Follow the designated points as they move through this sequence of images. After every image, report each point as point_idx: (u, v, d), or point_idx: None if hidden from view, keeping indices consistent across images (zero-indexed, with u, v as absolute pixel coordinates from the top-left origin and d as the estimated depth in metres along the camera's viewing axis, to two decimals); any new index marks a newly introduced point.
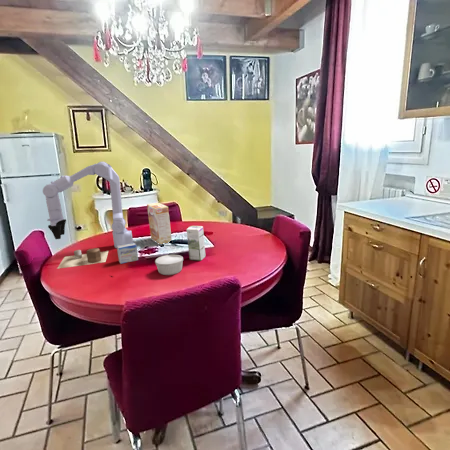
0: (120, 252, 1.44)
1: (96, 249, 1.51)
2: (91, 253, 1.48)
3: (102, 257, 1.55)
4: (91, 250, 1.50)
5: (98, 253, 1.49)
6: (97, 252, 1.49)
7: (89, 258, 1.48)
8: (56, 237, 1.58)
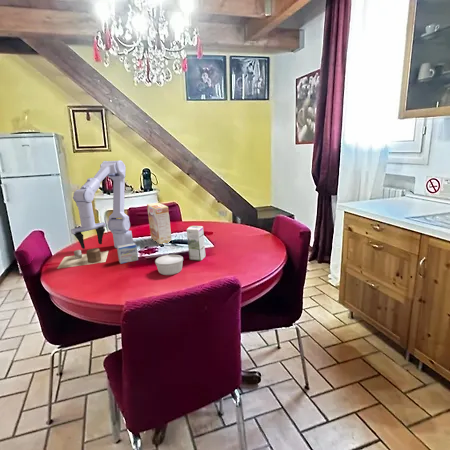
0: (120, 252, 1.44)
1: (96, 249, 1.51)
2: (91, 253, 1.48)
3: (102, 257, 1.55)
4: (91, 250, 1.50)
5: (98, 253, 1.49)
6: (97, 252, 1.49)
7: (89, 258, 1.48)
8: (81, 246, 1.47)
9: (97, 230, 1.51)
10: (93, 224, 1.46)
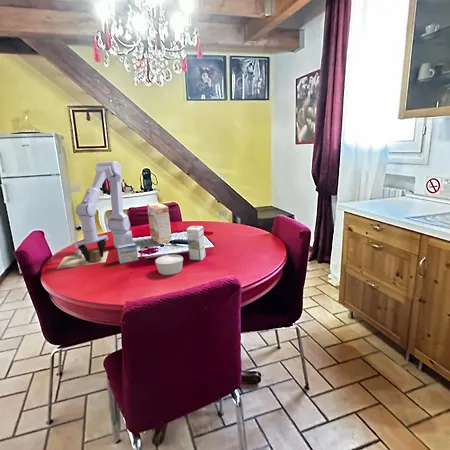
0: (120, 252, 1.44)
1: (96, 249, 1.51)
2: (91, 253, 1.48)
3: (102, 257, 1.55)
4: (91, 250, 1.50)
5: (98, 253, 1.49)
6: (97, 252, 1.49)
7: (89, 258, 1.48)
8: (85, 258, 1.49)
9: (98, 243, 1.52)
10: (96, 237, 1.48)
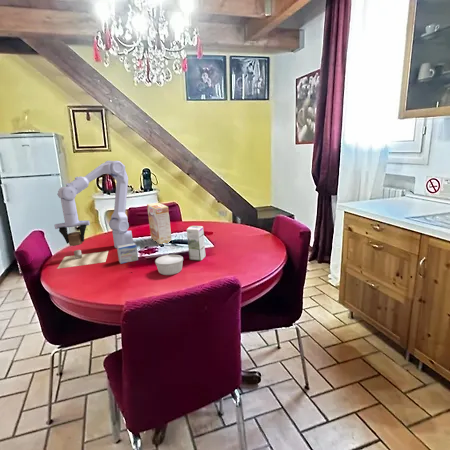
0: (120, 252, 1.44)
1: (77, 233, 1.53)
2: (69, 236, 1.51)
3: (102, 257, 1.55)
4: (72, 233, 1.53)
5: (76, 237, 1.51)
6: (75, 236, 1.51)
7: None
8: None
9: None
10: (74, 221, 1.50)
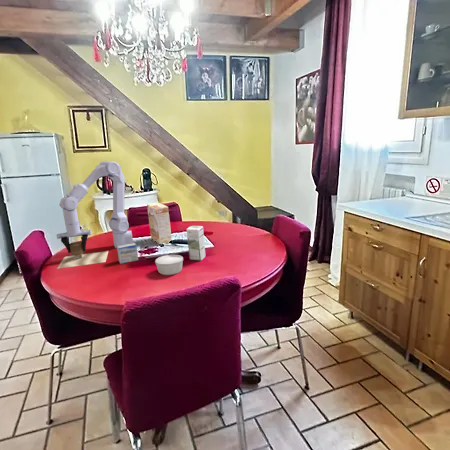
0: (120, 252, 1.44)
1: (78, 243, 1.54)
2: (71, 246, 1.52)
3: (102, 257, 1.55)
4: (74, 243, 1.54)
5: (78, 247, 1.53)
6: (77, 246, 1.52)
7: (70, 250, 1.53)
8: None
9: None
10: (75, 231, 1.51)
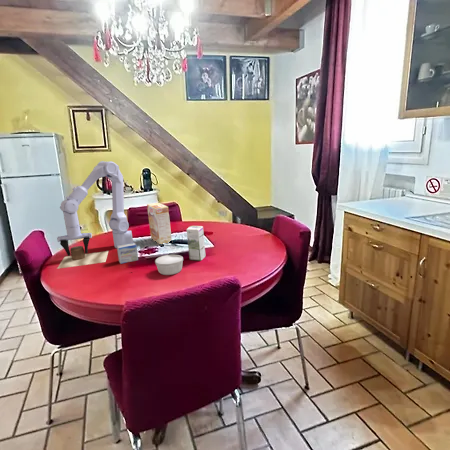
0: (120, 252, 1.44)
1: (79, 247, 1.55)
2: (72, 251, 1.53)
3: (102, 257, 1.55)
4: (75, 248, 1.55)
5: (79, 252, 1.53)
6: (78, 251, 1.53)
7: (71, 255, 1.54)
8: None
9: None
10: (76, 234, 1.51)
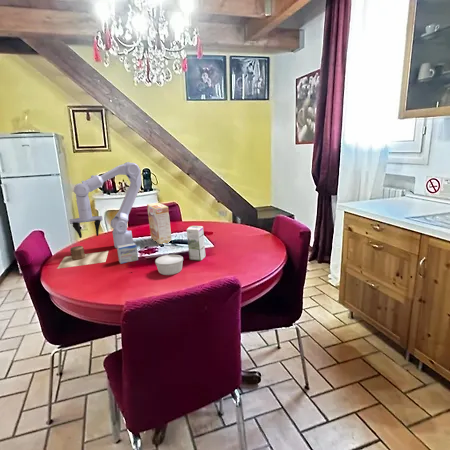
0: (120, 252, 1.44)
1: (79, 247, 1.55)
2: (72, 251, 1.53)
3: (102, 257, 1.55)
4: (75, 248, 1.55)
5: (79, 252, 1.53)
6: (78, 251, 1.53)
7: (71, 255, 1.54)
8: None
9: None
10: (88, 217, 1.57)
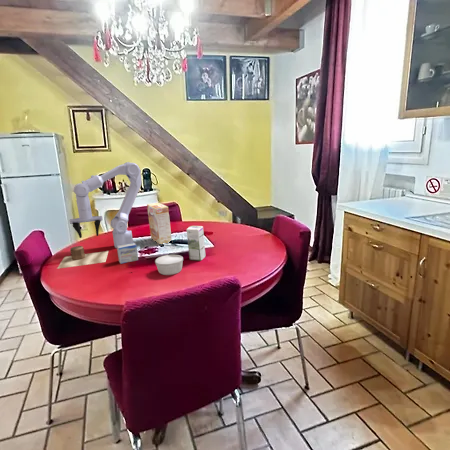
0: (120, 252, 1.44)
1: (79, 247, 1.55)
2: (72, 251, 1.53)
3: (102, 257, 1.55)
4: (75, 248, 1.55)
5: (79, 252, 1.53)
6: (78, 251, 1.53)
7: (71, 255, 1.54)
8: None
9: None
10: (88, 217, 1.57)
